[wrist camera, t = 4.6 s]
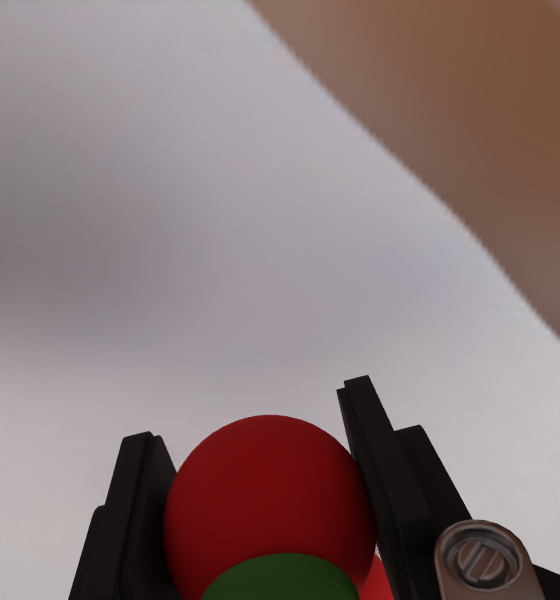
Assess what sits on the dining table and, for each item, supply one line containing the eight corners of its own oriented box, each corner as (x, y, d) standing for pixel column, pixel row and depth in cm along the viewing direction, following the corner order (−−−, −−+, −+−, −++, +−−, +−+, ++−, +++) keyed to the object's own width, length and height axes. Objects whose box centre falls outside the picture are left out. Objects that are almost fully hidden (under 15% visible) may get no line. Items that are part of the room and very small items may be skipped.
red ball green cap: (203, 536, 13) (193, 737, 9) (147, 403, 11) (106, 580, 7) (364, 495, 13) (423, 679, 9) (332, 355, 11) (389, 509, 7)
